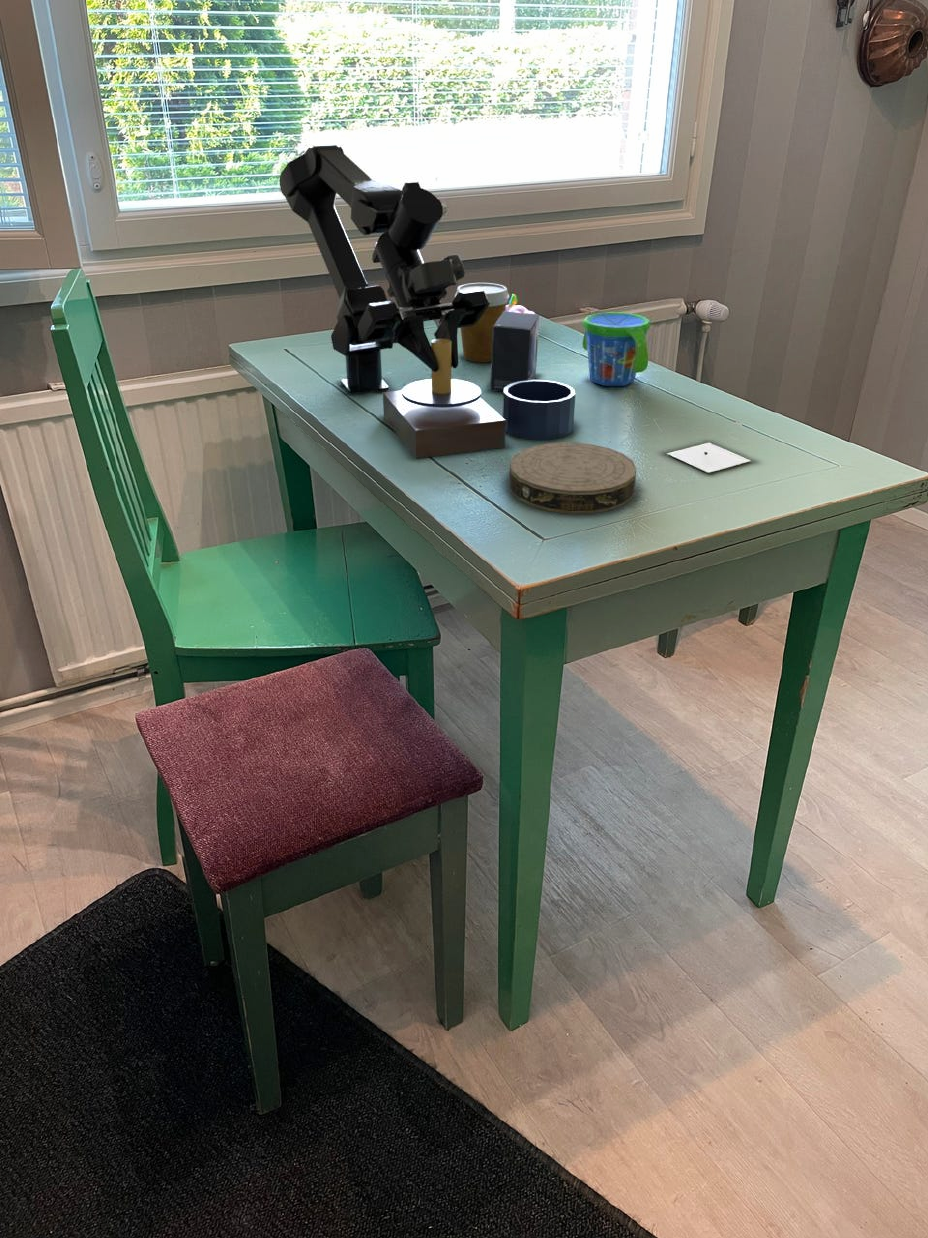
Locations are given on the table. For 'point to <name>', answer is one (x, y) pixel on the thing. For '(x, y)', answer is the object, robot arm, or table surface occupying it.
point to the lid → (441, 383)
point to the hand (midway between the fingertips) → (446, 368)
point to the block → (444, 426)
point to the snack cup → (615, 347)
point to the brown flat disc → (572, 477)
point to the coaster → (708, 457)
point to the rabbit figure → (516, 308)
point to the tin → (538, 409)
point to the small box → (514, 349)
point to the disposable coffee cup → (483, 322)
